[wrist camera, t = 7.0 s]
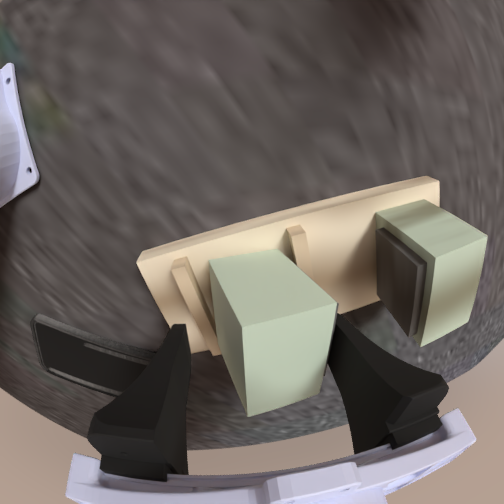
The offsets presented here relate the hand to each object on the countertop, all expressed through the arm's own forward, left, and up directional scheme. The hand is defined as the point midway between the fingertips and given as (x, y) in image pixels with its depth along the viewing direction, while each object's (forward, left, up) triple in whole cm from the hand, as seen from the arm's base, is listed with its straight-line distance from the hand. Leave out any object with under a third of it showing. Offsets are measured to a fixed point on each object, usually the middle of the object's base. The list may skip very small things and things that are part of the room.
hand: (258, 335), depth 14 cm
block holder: (0, +4, -6) cm, 7 cm away
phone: (+5, -15, -6) cm, 17 cm away
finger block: (0, 0, -3) cm, 3 cm away
